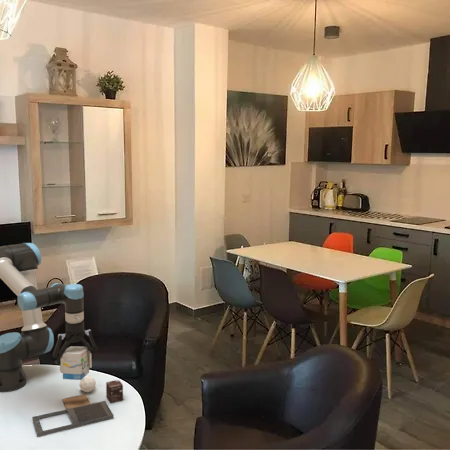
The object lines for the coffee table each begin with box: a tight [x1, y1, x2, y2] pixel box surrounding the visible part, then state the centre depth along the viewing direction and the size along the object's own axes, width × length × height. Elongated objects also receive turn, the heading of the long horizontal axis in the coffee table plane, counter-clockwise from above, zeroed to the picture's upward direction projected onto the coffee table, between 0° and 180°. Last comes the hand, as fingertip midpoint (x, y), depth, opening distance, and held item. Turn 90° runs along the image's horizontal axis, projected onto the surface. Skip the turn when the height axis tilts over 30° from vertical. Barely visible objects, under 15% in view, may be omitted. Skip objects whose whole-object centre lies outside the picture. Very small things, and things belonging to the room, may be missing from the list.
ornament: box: [79, 375, 97, 393], centre depth 230 cm, size 7×7×8 cm
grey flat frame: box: [31, 400, 115, 438], centre depth 207 cm, size 30×13×2 cm, turn 119°
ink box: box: [62, 345, 90, 381], centre depth 216 cm, size 8×8×12 cm
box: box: [105, 379, 124, 404], centre depth 224 cm, size 6×6×7 cm
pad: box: [62, 393, 92, 410], centre depth 220 cm, size 10×10×1 cm
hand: (75, 369), depth 217 cm, fingers closed on ink box, 11 cm apart
